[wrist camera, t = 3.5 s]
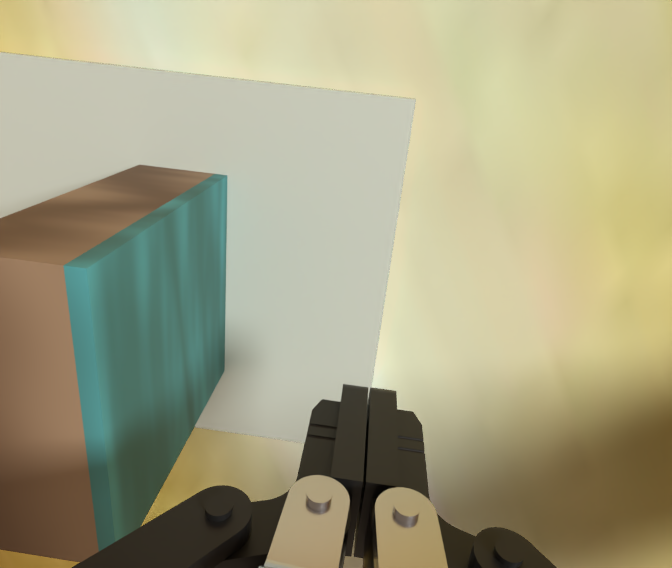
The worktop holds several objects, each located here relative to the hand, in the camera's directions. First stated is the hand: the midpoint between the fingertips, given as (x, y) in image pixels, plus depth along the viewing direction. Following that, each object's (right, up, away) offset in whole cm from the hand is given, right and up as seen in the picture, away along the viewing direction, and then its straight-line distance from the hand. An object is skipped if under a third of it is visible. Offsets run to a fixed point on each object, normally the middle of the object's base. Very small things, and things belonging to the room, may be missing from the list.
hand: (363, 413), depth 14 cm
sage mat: (-10, +5, +8) cm, 14 cm away
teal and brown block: (-7, +4, +7) cm, 11 cm away
